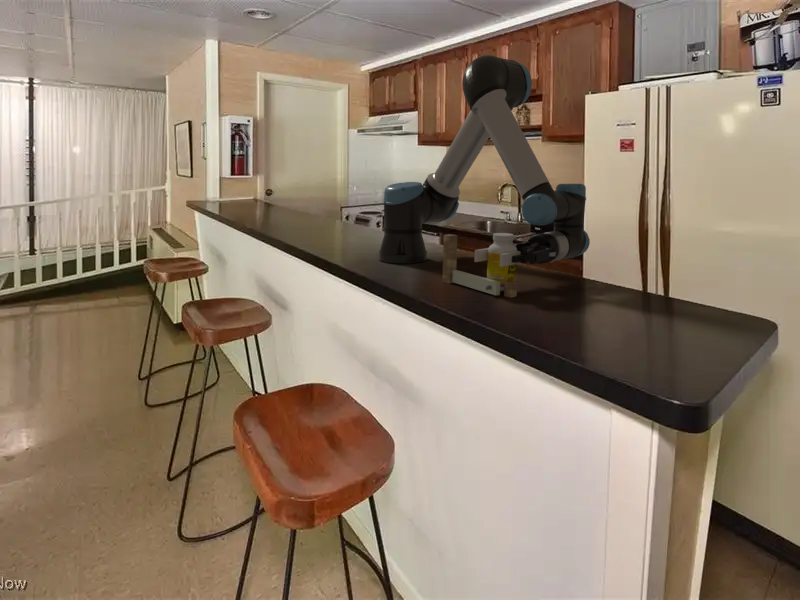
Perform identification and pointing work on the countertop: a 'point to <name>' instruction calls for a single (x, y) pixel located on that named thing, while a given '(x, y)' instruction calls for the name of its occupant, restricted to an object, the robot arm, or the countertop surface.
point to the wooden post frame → (451, 260)
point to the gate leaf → (476, 282)
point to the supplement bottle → (493, 268)
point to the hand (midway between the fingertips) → (488, 258)
